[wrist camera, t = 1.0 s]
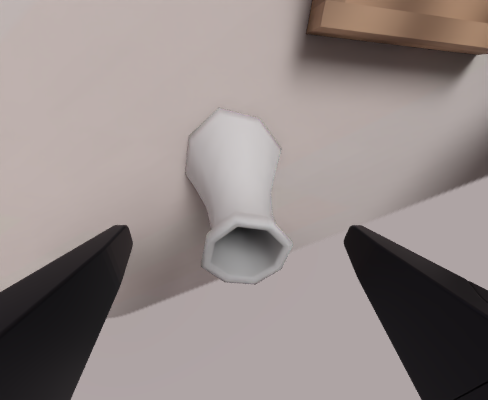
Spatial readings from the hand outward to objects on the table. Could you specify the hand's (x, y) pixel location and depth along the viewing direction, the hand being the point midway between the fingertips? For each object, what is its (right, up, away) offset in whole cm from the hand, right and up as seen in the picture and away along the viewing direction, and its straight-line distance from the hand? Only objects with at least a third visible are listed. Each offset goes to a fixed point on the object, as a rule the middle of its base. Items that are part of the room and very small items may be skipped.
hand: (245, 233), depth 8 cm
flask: (-1, +5, +8) cm, 9 cm away
